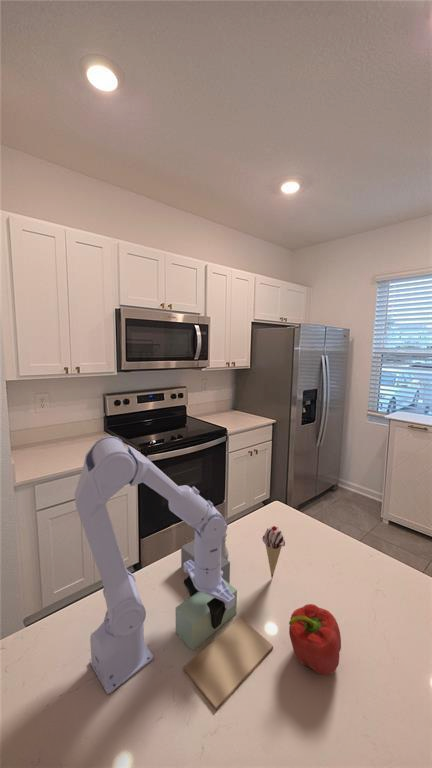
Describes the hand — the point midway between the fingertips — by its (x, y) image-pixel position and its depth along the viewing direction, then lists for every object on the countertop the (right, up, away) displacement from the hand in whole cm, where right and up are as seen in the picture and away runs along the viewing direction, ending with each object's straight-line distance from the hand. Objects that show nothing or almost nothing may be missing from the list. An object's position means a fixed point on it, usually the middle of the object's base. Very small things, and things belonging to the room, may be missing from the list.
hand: (207, 616), depth 70 cm
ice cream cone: (+17, 0, +13) cm, 21 cm away
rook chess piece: (+3, +1, +21) cm, 21 cm away
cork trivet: (+5, -3, -8) cm, 9 cm away
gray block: (-1, +1, +14) cm, 14 cm away
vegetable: (+21, -3, -7) cm, 22 cm away
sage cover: (0, -2, 0) cm, 2 cm away
